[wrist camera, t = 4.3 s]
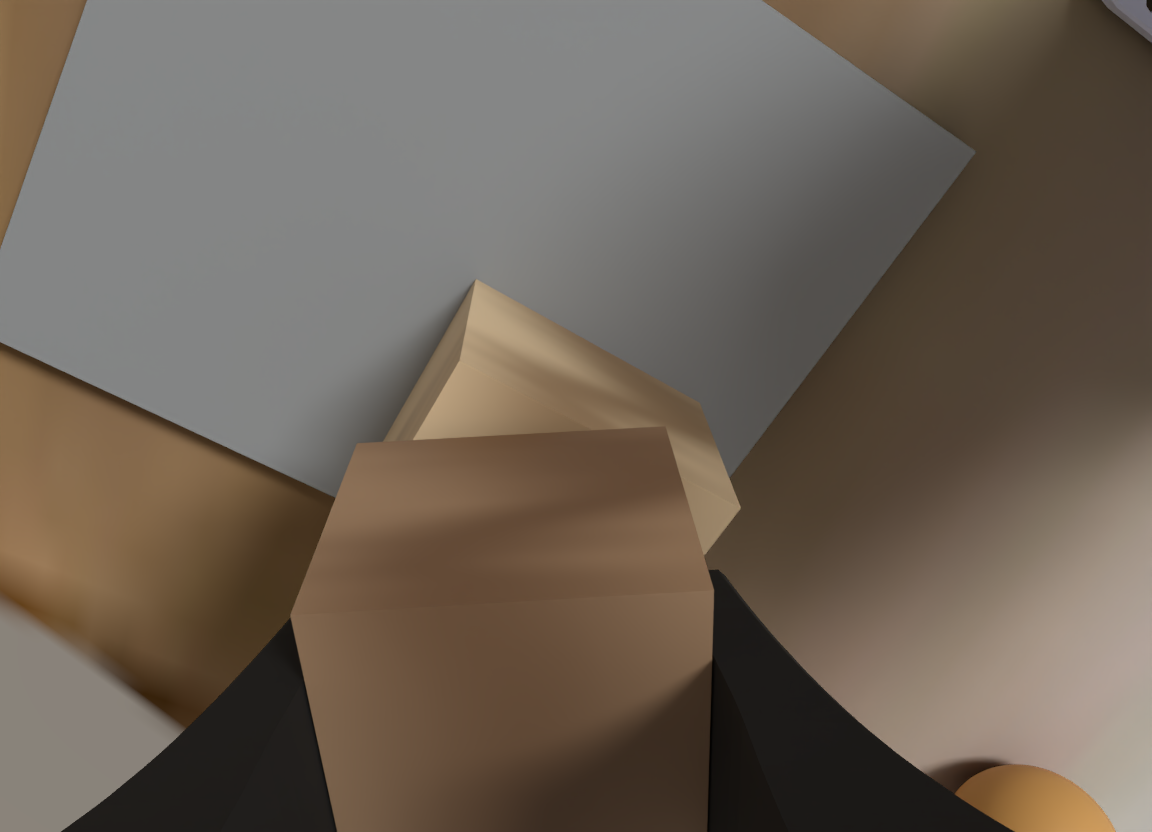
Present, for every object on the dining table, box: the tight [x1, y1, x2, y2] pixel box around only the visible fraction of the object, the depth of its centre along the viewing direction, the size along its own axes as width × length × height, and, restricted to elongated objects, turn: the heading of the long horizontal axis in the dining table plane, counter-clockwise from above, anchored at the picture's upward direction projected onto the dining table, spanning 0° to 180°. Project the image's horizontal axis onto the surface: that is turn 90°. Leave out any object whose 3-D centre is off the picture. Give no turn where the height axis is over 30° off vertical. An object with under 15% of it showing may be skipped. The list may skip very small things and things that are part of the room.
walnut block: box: [290, 426, 714, 832], centre depth 12 cm, size 4×4×4 cm
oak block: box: [383, 279, 741, 555], centre depth 16 cm, size 5×5×4 cm
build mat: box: [0, 0, 976, 498], centre depth 17 cm, size 14×12×1 cm
